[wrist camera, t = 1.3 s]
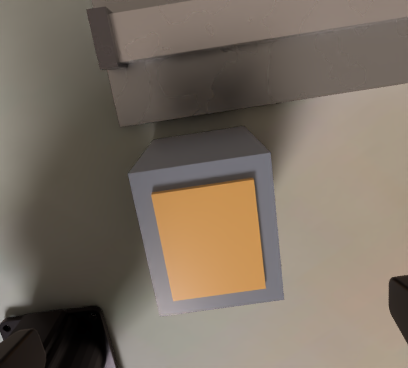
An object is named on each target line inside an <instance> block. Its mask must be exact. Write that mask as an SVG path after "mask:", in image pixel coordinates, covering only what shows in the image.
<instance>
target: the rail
mask: <svg viewBox="0 0 408 368" xmlns="http://www.w3.org/2000/svg"><path fill="white" fill-rule="evenodd" d="M92 4H93V8H92V9H86V10H87V14H88V19H89V23H90V27H91V32H92V36H93V41H94V45H95V49H96V54H97V58H98V62H99V67H100V69H102V70H107V72H108V76H109V81H110V85H111V90H112V94H113V99H114V103H115V108H116V112H117V117H118V121H119V126H120V127H124V126H131V125H137V124H144V123H150V122H157V121H163V120H170V119H176V118H183V117H189V116H196V115H202V114H209V113H216V112H222V111H229V110H235V109H242V108H248V107H255V106H261V105H268V104H274V103H281V102H287V101H294V100H301V99H307V98H314V97H320V96H327V95H333V94H340V93H346V92H353V91H359V90H366V89H372V88H379V87H385V86H392V85H399V84H405V83H408V0H92Z"/></svg>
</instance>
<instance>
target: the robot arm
mask: <svg viewBox="0 0 408 368" xmlns="http://www.w3.org/2000/svg"><path fill="white" fill-rule="evenodd" d="M389 310H390V313H391V315H392V317H393V319H394V321H395V322H396V324H397V326H398V328H399V330H400V331H401V333H402V335H403V337H404V338H405V340H406V342H407V344H408V275H404V276H397V277H392V278H391V279H390V281H389ZM91 313H94V314H96V316H93V315H92V314H91ZM7 325H8V326H10V327H8V326H7ZM0 333H1V335H2V338H3V340H4V341H2V342H1V343H0V368H118V365H117V361H116V358H115V354H114V351H113V347H112V344H111V340H110V337H109V333H108V329H107V326H106V322H105V319H104V315H103V312H102V310H101V309H100V308H99V307H97V306H89V307H81V308H74V309H67V310H62V309H61V310H54V311H46V312H39V313H32V314H25V315H23V316H16V317H9V318H5V319H4V320H3V321H2V322H1V324H0Z"/></svg>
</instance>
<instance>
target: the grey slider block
mask: <svg viewBox="0 0 408 368" xmlns="http://www.w3.org/2000/svg"><path fill="white" fill-rule="evenodd" d="M128 177H129V182H130V186H131V190H132V195H133V199H134V204H135V208H136V213H137V217H138V222H139V226H140V230H141V235H142V239H143V244H144V248H145V253H146V257H147V262H148V266H149V271H150V275H151V279H152V284H153V288H154V293H155V297H156V302H157V306H158V311H159V315H160V316H168V315H175V314H182V313H190V312H197V311H204V310H212V309H219V308H226V307H234V306H241V305H248V304H256V303H263V302H270V301H278V300H284V293H283V282H282V272H281V261H280V250H279V239H278V228H277V217H276V206H275V195H274V184H273V173H272V162H271V152H270V151H269V150H268V149H267V148H266V147H265V146H264V145H263V144H262V143H261V142H260V141H259V140H258V139H257V138H256V137H255V136H254V135H253V134H252V133H251V132H250V131H249V130H248V129H247V128H246V127H245V126H240V127H234V128H227V129H220V130H214V131H207V132H201V133H194V134H187V135H181V136H174V137H168V138H161V139H154V140H153V141H152V142H151V144H150V145H149V146H148V148H147V149H146V150H145V152H144V153H143V154H142V156H141V157H140V158H139V160H138V161H137V162H136V164H135V165H134V166H133V168H132V169H131V170H130V172H129V173H128Z"/></svg>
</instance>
